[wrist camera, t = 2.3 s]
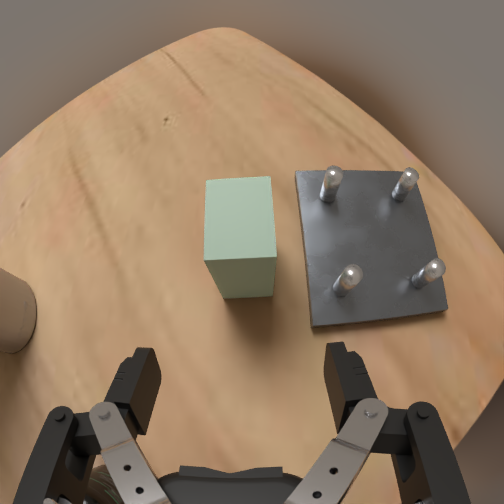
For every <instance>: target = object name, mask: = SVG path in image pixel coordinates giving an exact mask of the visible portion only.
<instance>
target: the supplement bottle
mask: <svg viewBox="0 0 504 504" xmlns="http://www.w3.org/2000/svg"><path fill="white" fill-rule="evenodd" d="M83 504H125V503H124V501H123V499H122V497H121V495H120V494H119V492H118V490H117V488H116V486H115V483H114V481H113V479H112V477H111V475H110V473H109V471H108V469H107V466H106V464H105V465H101V466H98V467H96V468H94V469H92V471H91V475H90V479H89V482H88V486H87V490H86V494H85V498H84V502H83Z"/></svg>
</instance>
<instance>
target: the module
mask: <svg viewBox="0 0 504 504" xmlns="http://www.w3.org/2000/svg"><path fill="white" fill-rule="evenodd" d="M276 260H277V252H276V239H275V226H274V213H273V201H272V189H271V178H270V176H265V177H246V178H229V179H215V180H206V197H205V227H204V262H205V264H206V266H207V268H208V270H209V272H210V273H211V275H212V277H213V279H214V281H215V283H216V285H217V287H218V289H219V291H220V293H221V295H222V297H223V299H224V298H248V297H268V296H273V289H274V279H275V270H276Z"/></svg>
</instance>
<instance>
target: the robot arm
mask: <svg viewBox="0 0 504 504" xmlns="http://www.w3.org/2000/svg"><path fill="white" fill-rule="evenodd" d="M35 321H36V302H35V298H34V294H33V292H32V290H31V288H30V286H29V285H28V284H27V283H26V282H25V281H23V280H21V279H20V278H18V277H16V276H14V275H12V274H10V273H8V272H7V271H5V270H3V269H2V268H0V351H2V352H6V353H15V352H18V351H20V350H21V349H22V348H23V347H24V346H25V345H26V344H27V342H28V341H29V340H30V337H31V335H32V333H33V330H34V326H35ZM324 379H325V383H326V388H327V392H328V396H329V400H330V404H331V409H332V413H333V417H334V421H335V426H336V430H337V434H338V435H337V437H336V438H335V439H334V438H333V439H332V440H331V441H330V443H329V444H328V445H327V447H326V448H325V450H324V451H323V453H322V454H321V455H320V457H319V458H318V460H317V461H316V462H315V464H314V465H313V467H312V468H311V469H310V471H309V472H308V473H307V475H306V476H305V477H304V478H303V479H302V478H300V477H298V476H295V475H292V474H288V473H283V471H282V467H266V468H254V469H249V470H245V471H240V472H235V473H225V472H221V471H217V470H213V469H209V468H205V467H193V466H180V469H179V472H175V473H171V474H168V475H165V476H163V477H161V478H159V479H158V477H157V476H156V474H155V473H154V471H153V469H152V468H151V466H150V464H149V463H148V461H147V459H146V458H145V456H144V454H143V452H142V451H141V449H140V447H139V445H138V444H137V442H136V438H137V434H139V435H146V432H147V428H148V425H149V421H150V418H151V414H152V411H153V408H154V404H155V401H156V397H157V394H158V391H159V387H160V384H161V370H160V367H159V364H158V361H157V358H156V355H155V351H154V349H153V348H141V347H138V348H136V350H135V353H134V355H133V357H127V358H126V359H125V360H124V361H123V362H122V363H121V364H120V366H119V368H118V371H117V373H116V375H115V377H114V380H113V382H112V384H111V386H110V388H109V390H108V393H107V395H106V397H105V400H104V402H101V403H98V404H96V405H95V406H93V408H92V409H91V410H90V412H85V413H76V414H74V413H73V412H72V410H71V409H70V408H68V407H66V406H60V407H56V408H54V409H53V410H52V411H51V412H50V413H49V415H48V417H47V419H46V421H45V423H44V425H43V428H42V430H41V432H40V434H39V437H38V439H37V441H36V444H35V446H34V449H33V451H32V453H31V456H30V458H29V461H28V463H27V466H26V468H25V471H24V474H23V476H22V479H21V482H20V484H19V487H18V490H17V493H16V496H15V499H14V502H13V504H83V502H84V498H85V494H86V490H87V486H88V482H89V479H90V475H91V471H92V468H93V464H94V461H95V457H96V455H99V454H101V455H102V457H103V460H104V462H105V464H106V466H107V469H108V471H109V473H110V475H111V477H112V479H113V481H114V483H115V486H116V488H117V490H118V492H119V494H120V495H121V497H122V499H123V501H124V503H125V504H341V502H342V501H343V499H344V498H345V496H346V495H347V493H348V491H349V490H350V488H351V486H352V484H353V483H354V481H355V479H356V478H357V476H358V474H359V473H360V471H361V469H362V467H363V466H364V464H365V462H366V460H367V459H368V457H369V455H370V453H384V454H391V457H392V461H393V466H394V470H395V474H396V478H397V483H398V487H399V492H400V497H401V501H402V504H471V502H470V499H469V496H468V493H467V489H466V486H465V483H464V480H463V477H462V474H461V472H460V469H459V466H458V463H457V460H456V457H455V455H454V452H453V449H452V447H451V444H450V442H449V439H448V436H447V434H446V431H445V429H444V426H443V424H442V421H441V419H440V417H439V414H438V412H437V410H436V408H435V407H434V406H433V405H431V404H430V403H427V402H416V403H414V404H412V405H411V406H410V407H409V408H408V409H394V408H389V407H387V406H386V404H385V403H384V402H382V401H381V400H379V399H378V398H377V395H376V393H375V390H374V387H373V385H372V382H371V380H370V377H369V375H368V372H367V370H366V368H365V365H364V362H363V360H362V358H361V357H360V356H359V355H358V354H357V353H356V352H355V351H352V352H347V350H346V347H345V344H344V342H334V343H327V345H326V353H325V361H324Z"/></svg>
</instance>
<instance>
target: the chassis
mask: <svg viewBox="0 0 504 504" xmlns="http://www.w3.org/2000/svg"><path fill="white" fill-rule="evenodd" d="M418 179H419V174H418V172H417V171H416V170H415V169H413V168H410V167H409V168H406V169H405V171H404V172H399V171H358V170H342V169H341V168H339V167H338V166H330V167H328V168H327V170H324V171H296V172H295V183H296V191H297V198H298V206H299V214H300V222H301V231H302V239H303V248H304V258H305V267H306V277H307V288H308V298H309V310H310V322H311V328H314V327H325V326H336V325H347V324H356V323H365V322H374V321H382V320H390V319H398V318H405V317H412V316H419V315H425V314H432V313H438V312H443V311H445V310H447V309H448V305H447V299H446V294H445V288H444V283H443V278H442V275H443V274H444V273H445V270H446V267H445V264H444V262H443V261H442V260H441V259H438V255H437V251H436V247H435V243H434V239H433V235H432V232H431V228H430V224H429V221H428V217H427V214H426V210H425V207H424V204H423V201H422V197H421V194H420V191H419V188H418V185H417V180H418Z"/></svg>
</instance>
